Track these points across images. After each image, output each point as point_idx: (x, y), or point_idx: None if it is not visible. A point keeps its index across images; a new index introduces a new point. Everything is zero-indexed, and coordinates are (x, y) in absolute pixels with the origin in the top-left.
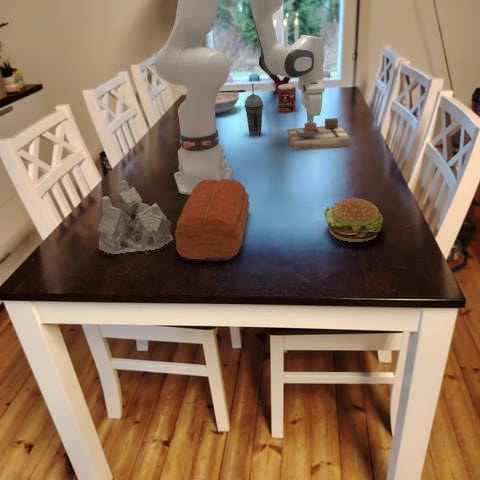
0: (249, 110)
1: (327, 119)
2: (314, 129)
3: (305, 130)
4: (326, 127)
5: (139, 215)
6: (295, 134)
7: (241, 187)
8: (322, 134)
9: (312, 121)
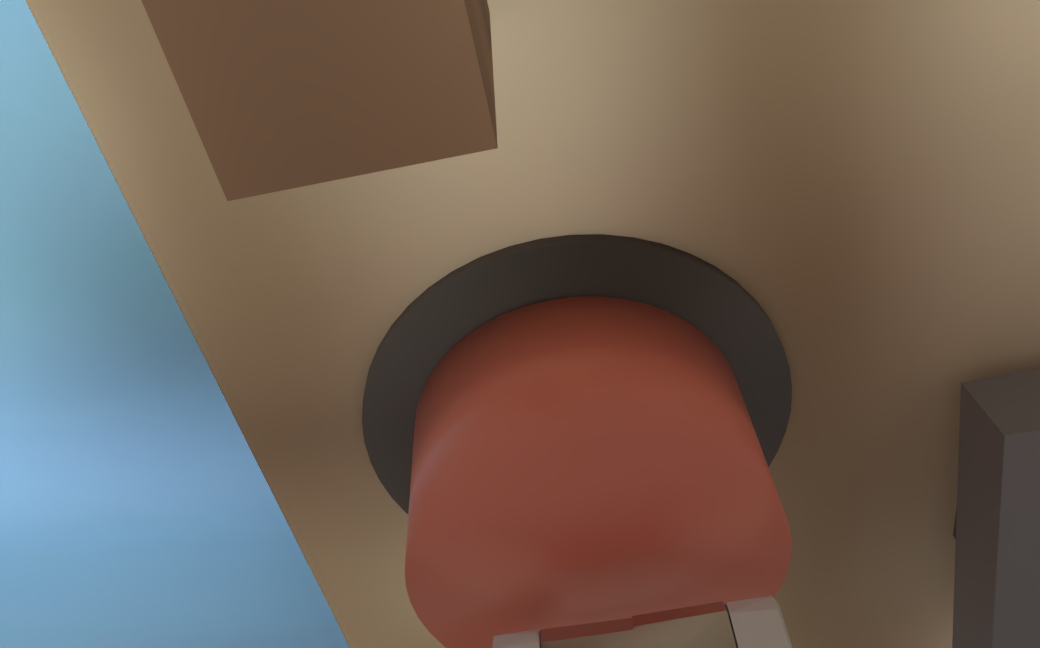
0: None
1: (311, 81)
2: (723, 379)
3: (1023, 607)
4: (482, 2)
5: None
6: None
7: None
8: (977, 110)
9: (780, 633)
